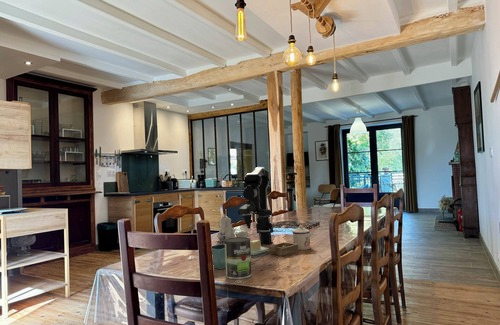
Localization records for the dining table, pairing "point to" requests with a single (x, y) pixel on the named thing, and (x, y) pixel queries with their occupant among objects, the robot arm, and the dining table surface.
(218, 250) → the flower pot
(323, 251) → the dining table surface
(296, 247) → the box
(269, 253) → the coaster
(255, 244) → the lid
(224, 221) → the chinaware
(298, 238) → the teacup with lid
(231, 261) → the coffee can
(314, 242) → the dining table surface
